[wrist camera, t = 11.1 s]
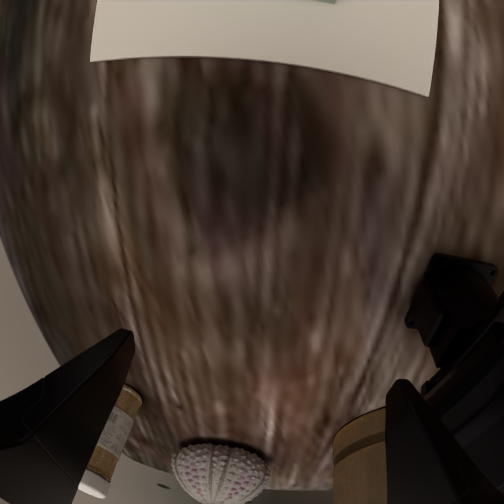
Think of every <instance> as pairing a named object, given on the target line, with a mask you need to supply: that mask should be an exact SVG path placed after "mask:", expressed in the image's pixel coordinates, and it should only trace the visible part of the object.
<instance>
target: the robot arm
mask: <svg viewBox="0 0 504 504" xmlns="http://www.w3.org/2000/svg"><path fill="white" fill-rule="evenodd" d="M439 259H440V261H439V262H438V263H436V262H437V260H439ZM492 270H493V271H492ZM491 271H492V272H491ZM497 272H498V269H497V267H496V266H495V265H493V264H489V263H484V262H479V261H474V260H469V259H465V258H460V257H455V256H450V255H445V254H435V255H434V256H433V257H432V259H431V262H430V264H429V267H428V269H427V271H426V274H425V276H424V279H423V280H422V281H421V283H420V285H419V288H418V290H417V292H416V294H415V297H414V299H413V301H412V303H411V305H410V310H409V312H408V314H407V316H406V319H405V325H406V327H407V328H413V329H418V331H419V333H420V336H421V338H422V341H423V343H424V345H425V346H426V347H429V349H430V352H431V354H432V357H433V359H434V362H435V365H436V367H438V368H441V369H440V370H439V371H438V372H437V373H436V374H435V375H434V376H433V377H432V378H431V379H430V380H429V381H426V382H425V383H424V384H423V385H422V386H421V394H420V393H419V392H418V391H417V389H416V388H415V387H414V386H413V385H412V383H411V382H410V381H409V380H407V379H398V380H396V381H395V383H394V384H393V386H392V387H391V388H390V390H389V391H388V393H387V395H386V413H385V450H386V472H387V504H504V291H503V293H502V294H501V296H500V297H499V298H498V296H497V295H496V293H495V292H494V291H493V289H492V288H491V285H492V283H493V281H494V279H495V277H496V275H497ZM411 321H412V322H411ZM134 354H135V342H134V335H133V332H132V331H130V330H127V329H123V328H121V329H119V330H117V331H116V332H114V333H113V334H111V335H109V336H108V337H106V338H105V339H103V340H102V341H100V342H98V343H97V344H95V345H94V346H92V347H90V348H89V349H87V350H86V351H84V352H83V353H81V354H79V355H78V356H76V357H75V358H73V359H72V360H70V361H68V362H67V363H65V364H64V365H62V366H61V367H59V368H57V369H56V370H54V371H53V372H51V373H50V374H48V375H47V376H45V378H42V379H40V380H38V381H37V382H36V383H34V384H32V385H30V386H29V387H27V388H25V389H23V390H22V391H20V392H18V393H16V394H14V395H12V396H10V397H8V398H6V399H4V400H2V401H0V504H72V501H73V499H74V497H75V494H76V492H77V489H78V487H79V486H78V485H79V484H80V482H81V479H82V477H83V475H84V472H85V470H86V468H87V465H88V463H89V461H90V459H91V456H92V454H93V452H94V450H95V447H96V445H97V443H98V441H99V438H100V436H101V434H102V432H103V430H104V427H105V425H106V423H107V421H108V419H109V417H110V414H111V412H112V410H113V408H114V406H115V404H116V402H117V400H118V398H119V395H120V393H121V391H122V388H123V386H124V383H125V380H126V377H127V374H128V371H129V368H130V365H131V362H132V360H133V357H134Z"/></svg>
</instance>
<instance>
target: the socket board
mask: <svg viewBox="0 0 504 504" xmlns="http://www.w3.org/2000/svg"><path fill="white" fill-rule="evenodd" d="M438 10H439V0H98V1H97V7H96V13H95V20H94V28H93V36H92V45H91V56H90V62H103V61H113V60H125V59H140V58H166V57H197V58H223V59H238V60H250V61H261V62H270V63H278V64H285V65H293V66H299V67H305V68H311V69H317V70H322V71H328V72H333V73H338V74H342V75H347V76H351V77H356V78H360V79H364V80H368V81H372V82H376V83H380V84H383V85H387V86H391V87H394V88H397V89H401V90H404V91H407V92H411V93H414V94H417V95H420V96H424V97H429V92H430V86H431V79H432V72H433V64H434V56H435V47H436V37H437V25H438Z"/></svg>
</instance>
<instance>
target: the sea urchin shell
mask: <svg viewBox="0 0 504 504" xmlns="http://www.w3.org/2000/svg"><path fill="white" fill-rule="evenodd" d="M171 460H172V463H171V466H172V467H173V469H172V470H173V471H174V472H173V473H174V474H175V475H176V480H178V481H179V483H180V486H182V487H183V488H184V491H186V492H187V493H189V495H190V496H192V497H193V498H195V499H197V501H199V502H201V503H203V504H245V502H247V501H251V500H252V498H253V497H255V496H258V493H260V492H262V491H263V489H264V488H265V486H266V483H268V482H269V481H268V479H269V478H270V477H271V476H270V474H269V473H270V470H269V469H268V465H267V464H265V460H262V458H259V457H258V456H257V455H256V454H255V453H254V454H251V453H250V452H249V451H245V450H243V448H241V449H239V448H237V447H236V448H229V447H228V446H227V445H226V446H222V445H221V444H220V445H217V446H215V445H212V444H211V443H209V444H205V443H204V444H196V445H191V444H190V445H189V446H188V447H183V448H182V449H181V450H178V451H177V453H175V454H174V457H173V458H172V459H171Z"/></svg>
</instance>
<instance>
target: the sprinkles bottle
mask: <svg viewBox="0 0 504 504" xmlns="http://www.w3.org/2000/svg"><path fill="white" fill-rule="evenodd" d="M141 405H142V398H141V396H140V395H139V394H138V393H137V392H136V391H135V390H134V389H132V388H131V387H129V386H127V385H125V384H124V386H123V388H122V391H121V393H120V395H119V398H118V400H117V402H116V404H115V406H114V408H113V410H112V412H111V414H110V417H109V419H108V421H107V423H106V425H105V427H104V430H103V432H102V434H101V436H100V438H99V441H98V443H97V445H96V447H95V450H94V452H93V454H92V456H91V459H90V461H89V463H88V465H87V468H86V470H85V472H84V475H83V477H82V479H81V482H80V484H79V485H78V486H79V487H78V489H80V490H81V491H84V492H86V493H88V494H90V495H93V496H95V497H98V498H105V497H106V496H107V493H108V491H109V488H110V482H111V477H112V474H113V472H114V469H115V467H116V464H117V462H118V460H119V458H120V455H121V453H122V450H123V448H124V445H125V443H126V440H127V438H128V435H129V433H130V430H131V428H132V425H133V421H134V419H135V417H136V414H137V412H138V409H139V407H140V406H141Z"/></svg>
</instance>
